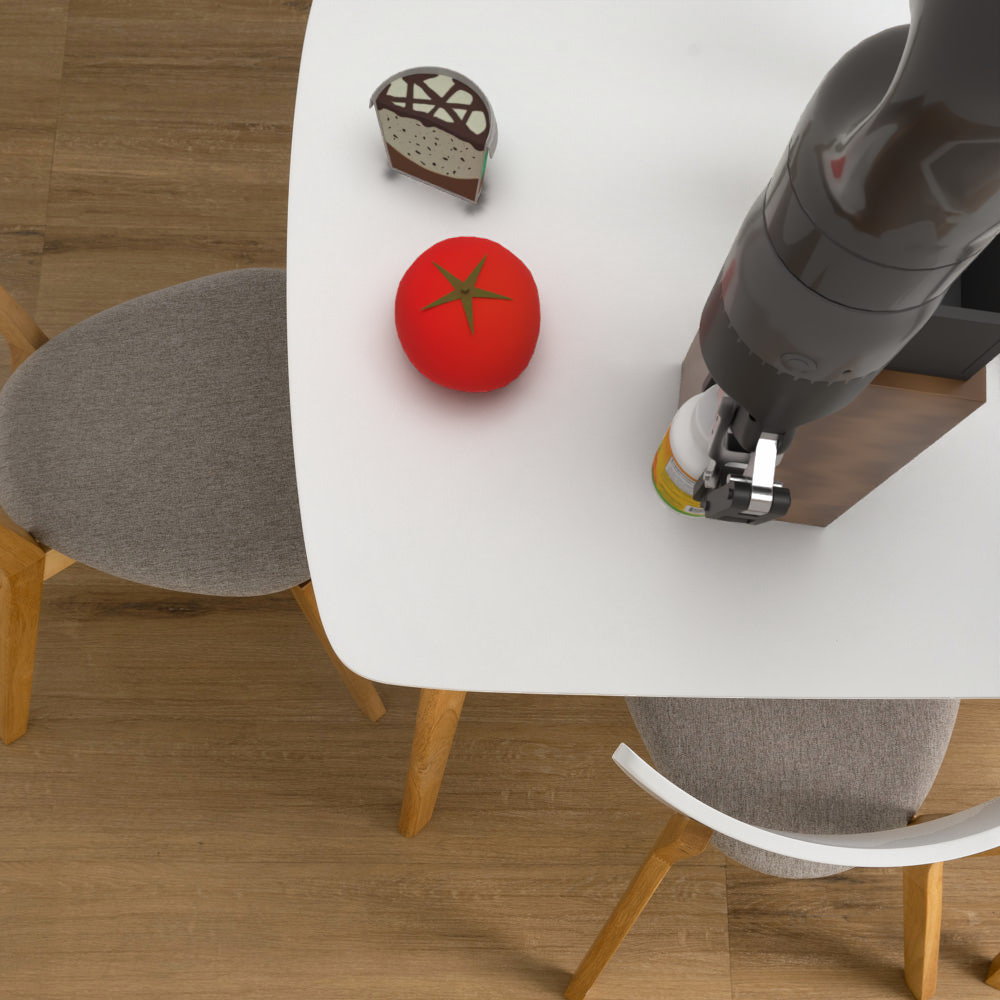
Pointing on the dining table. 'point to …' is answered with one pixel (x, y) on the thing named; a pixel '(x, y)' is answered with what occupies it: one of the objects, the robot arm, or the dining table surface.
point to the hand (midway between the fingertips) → (716, 444)
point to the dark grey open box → (960, 325)
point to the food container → (437, 128)
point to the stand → (859, 436)
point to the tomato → (468, 314)
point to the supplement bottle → (686, 454)
